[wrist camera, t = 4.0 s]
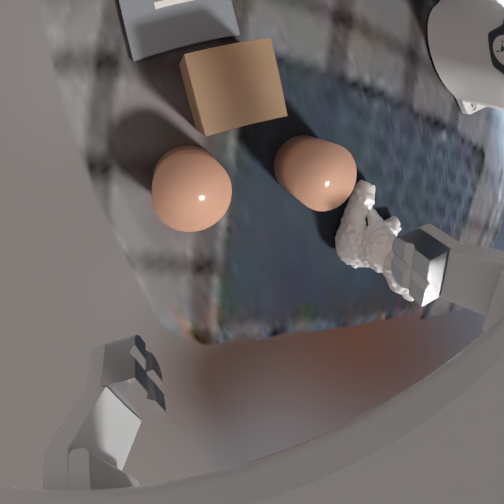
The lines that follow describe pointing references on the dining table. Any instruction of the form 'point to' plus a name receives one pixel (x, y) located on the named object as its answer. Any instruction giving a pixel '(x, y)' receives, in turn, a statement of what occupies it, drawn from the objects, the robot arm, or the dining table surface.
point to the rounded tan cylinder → (315, 172)
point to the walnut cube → (233, 85)
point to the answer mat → (175, 24)
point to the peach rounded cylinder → (190, 189)
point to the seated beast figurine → (368, 236)
